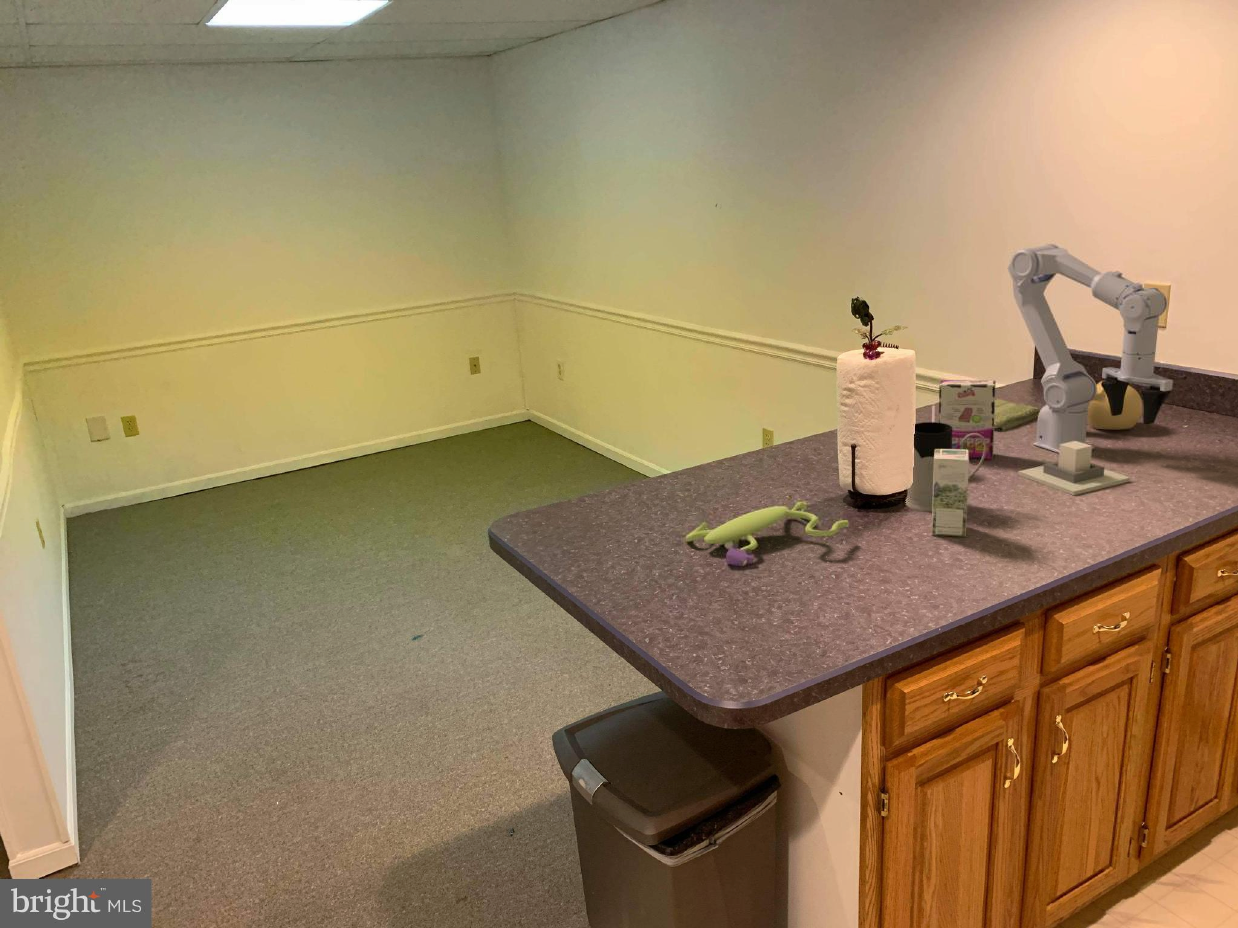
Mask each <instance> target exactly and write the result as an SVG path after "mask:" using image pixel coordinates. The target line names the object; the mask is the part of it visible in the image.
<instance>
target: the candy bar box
mask: <svg viewBox="0 0 1238 928" xmlns="http://www.w3.org/2000/svg"><path fill="white" fill-rule="evenodd" d="M938 389H939V390H938V391H939V392H938V395H939V396H938V399H939V400H938V423H944V424H948V425H950V426H952V449H961V442H962V440H963V438H964V437H965V436H967V435H968V434H971V433H977V434H980V435H982V436H983V437H984V439H985V440H986V446H987V447H986V455H985V458H984V460H993V457H994V447H995V446H994V439H995V429H994V419H995V400H996V379H942V380H941V381H940V383H939V388H938ZM963 450H968V451H969V460H981V459H982V456H983V452H984V441H983V439H982V438H981V437H979V436H975V435H973V436H970V437H968V438H967V439H966V440H965V442H964V445H963Z"/></svg>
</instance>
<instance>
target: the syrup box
mask: <svg viewBox="0 0 1238 928" xmlns="http://www.w3.org/2000/svg"><path fill="white" fill-rule="evenodd" d="M969 472H970V459H969V451H968V450H962V449H935V453H934V473H933V506H932V512H931V513H932V515H931V535H932V536H944V537H945V536H946V537H960V538H961V537H962V538H963V537H966V536H967V516H968V515H967V514H968V495H969V493H968V491H969V479H968V476H969V474H970V473H969Z"/></svg>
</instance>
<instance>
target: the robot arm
mask: <svg viewBox="0 0 1238 928" xmlns="http://www.w3.org/2000/svg"><path fill="white" fill-rule="evenodd" d="M1007 270H1008V272H1009V275H1010V277H1011V279H1012V287H1013V288H1012V289H1013V291H1012V292H1013V297H1014V300H1015V302H1016V304H1017V307H1018V310H1019V312H1020V314H1021V316H1022V318H1023V321H1024V323H1025V325H1026V327H1027V330H1028V332H1029V334H1030V336H1031V337H1030V338H1032V341H1033V344H1034V346H1035V348H1036V351H1037V353H1038V355H1039V357H1040V360H1041V362H1042V364H1043V367H1044V368H1045V373H1044V374H1043V376H1042V378H1041V381H1040V383H1041V385H1042V387H1043V399H1044V402H1045V405H1044V406H1043V407H1042V408H1041V409H1040V413H1039V415H1038V417H1037V424H1036V425H1037V427H1036V440H1035V442H1034V441H1033V446H1036V447H1040V448H1042V449H1045V450H1049V451H1052V452H1055V453H1058V454H1059V448H1060V444H1064V443H1068V442H1072V441H1077V442H1081V443H1084V444H1086V440H1087V439H1086V436H1087V426H1088V421H1087V414H1088V407H1089V406H1090V401H1092V400H1093V399H1094V398H1095V396H1096V394H1097V383H1096V381H1095V379H1094V378H1093V377H1092V376H1091V375H1089V374H1088V372H1087V370H1086V368H1085V366H1084V365H1082V364H1080V363H1078V362H1077V361H1075V360H1074V359H1073V358H1072V355H1071V353H1070V351H1069V348H1068V346H1067V344H1066V342H1065V339H1064V337H1063V335H1062V333H1061V330H1060V328H1059V326H1058V324H1057V322H1056V320H1055V316H1054V315H1053V312H1052V310H1051V307H1050V305H1049V303H1048V300H1047V298H1046V297H1045V291H1046V289H1047V287H1048V286H1049V284H1050V282H1051V281H1053V279H1054V277H1056V275H1057V274H1058V275H1061V276H1063V277H1065V278H1067V279H1070V280H1073V281H1074V282H1076V283H1078V284H1081V285H1083V286H1085V287H1087V288H1090V289H1091V295H1092V296H1093V297H1094V298H1095V299H1097V300H1098V301H1101V302H1102V303H1104V304H1106V305H1108V306H1110V307H1112V308H1113V309H1115V310H1117V311H1119V313H1120V316H1121V318H1122V319H1123V328H1124V330H1123V340H1122V350H1121V351H1122V353H1121V362H1120V363H1121V364H1120V368H1116V367H1111V366H1109V367H1105V368H1104V367H1103V368H1102V370H1101V371H1102V373H1101V378H1102V379H1105V380H1102V381H1103V382H1101V381H1100V382H1101V386H1102V387H1103V389H1104V391H1105V393H1106V395H1107V398H1108V401H1109V405H1110V410H1111V415H1112V416H1116V415H1121V414H1122V411H1123V405H1124V397H1125V393H1126V390H1127V387H1128V386H1130V385H1129V384H1135V385H1137V386H1143V387H1147V388H1145V389H1142V390H1140V394H1141V396H1142V405H1143V412H1142V413H1143V414H1142V422H1143V425H1150V424H1155V421H1156V419H1157V417H1158V413H1159V412H1160V410H1161V407H1162V406H1163V404H1164V402H1165V401H1166V400H1167V398H1168V397H1169V395H1171V393H1172V390H1173V383H1174V380H1173V379H1169V378H1166V377H1163V376H1161V375H1158V374H1156V373H1154V372H1155V370H1154V369H1155V360H1156V359H1155V358H1156V351H1157V350H1156V349H1157V341H1158V331H1159V321H1160V316H1162V315H1163V314H1164V313H1165V311H1166V310H1167V306H1168V299H1167V296H1166V295H1165V293H1164V292H1163V291H1161V290H1159V288H1158V287H1147V288H1145V287H1144V286H1143V284H1142V283H1140V282H1137V283H1136V282H1134V281H1132V280H1129V279H1127V278H1126V277H1124V276H1123V273H1122V272H1121V271H1119V270H1115V271H1109V270H1108V271H1106V272H1103V273H1102V272H1101V271H1098V270H1097V269H1095V268H1094V267H1092V266H1090V265H1088V264H1087V263H1085V262H1084V261H1083V260H1080V259H1078V258H1077V257H1076V256H1073V255H1072V254H1070V252H1069V251H1068V250H1067V249H1065V248H1062V247H1060V246H1059V245H1056V244H1054V243H1049V244H1048V243H1047V244H1045V245H1041V246H1035V247H1034V246H1033V247H1027V248H1025V247H1024V248H1020V249H1018V250H1016V251H1015V252H1014V253H1013V255H1012V257H1011V258H1010V262H1009V264H1008V266H1007ZM1091 446H1092V450H1095V446H1094V445H1091Z"/></svg>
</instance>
